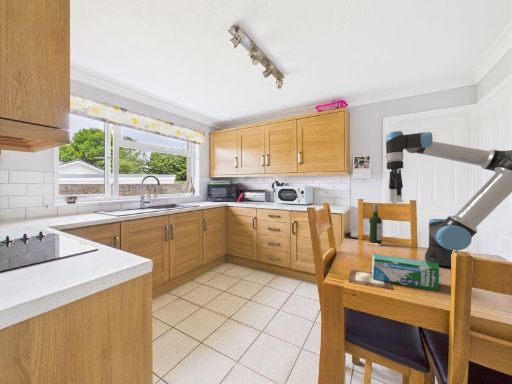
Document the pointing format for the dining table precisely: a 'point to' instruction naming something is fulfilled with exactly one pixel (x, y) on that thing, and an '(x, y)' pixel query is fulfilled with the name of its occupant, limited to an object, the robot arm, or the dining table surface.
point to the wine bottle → (375, 227)
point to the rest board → (367, 279)
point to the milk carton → (406, 271)
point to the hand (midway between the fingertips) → (395, 201)
